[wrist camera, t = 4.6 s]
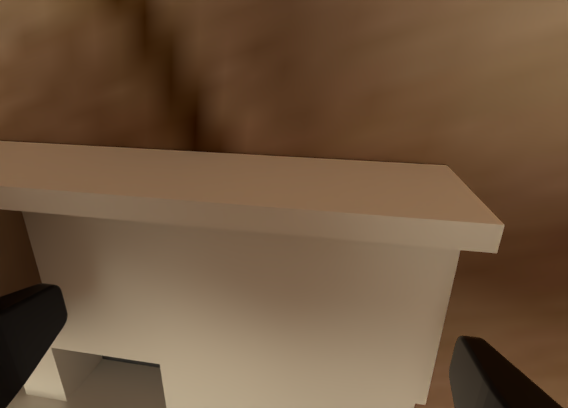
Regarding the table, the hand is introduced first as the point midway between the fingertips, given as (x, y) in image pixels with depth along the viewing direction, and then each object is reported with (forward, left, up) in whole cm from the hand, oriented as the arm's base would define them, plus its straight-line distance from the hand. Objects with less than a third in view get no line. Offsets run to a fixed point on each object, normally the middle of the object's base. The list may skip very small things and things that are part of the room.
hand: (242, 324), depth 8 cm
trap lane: (-1, +7, -3) cm, 7 cm away
